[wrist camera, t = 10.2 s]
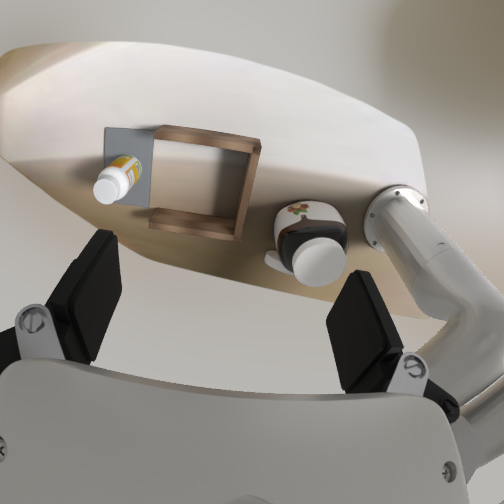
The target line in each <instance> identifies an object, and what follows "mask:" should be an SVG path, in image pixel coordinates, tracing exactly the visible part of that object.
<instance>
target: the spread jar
mask: <svg viewBox="0 0 504 504" xmlns="http://www.w3.org/2000/svg"><path fill="white" fill-rule="evenodd" d="M274 236H275V243H276V249H277V251H273V250H270V251H267V252H266V256H265V259H264V261H265V263H266V264H267V265H269V266H270V267H272V268H274V269H276V270H278V271H281V272H283V273H286V274H290V275H295V277H296V278H297V280H298V281H299V282H301V283H302V284H304V285H306V286H310V287H321V286H326V285H328V284H331V283H333V282H334V281H336V280H337V279H338V278H339V277H340V276H341V275H342V274H343V272H344V270H345V268H346V264H347V258H346V254H347V250H348V232H347V228H346V225H345V223H344V221H343V219H342V217H341V216H340V214H339V213H338V211H337V210H336V209H335V208H334V207H333V206H331V205H329V204H327V203H324V202H320V201H314V200H302V201H297V202H294V203H292V204H289V205H287V206H286V207H284V208H283V209H281V210H280V211H279V212H278V214H277V216H276V219H275V225H274Z"/></svg>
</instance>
